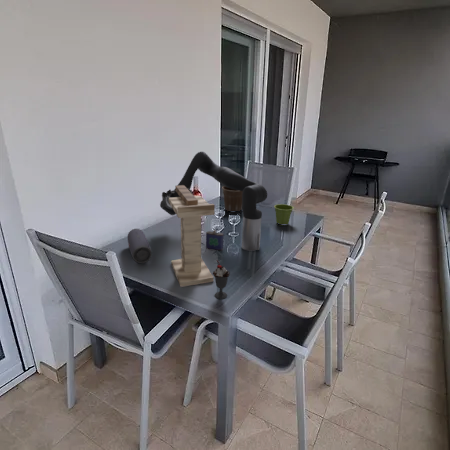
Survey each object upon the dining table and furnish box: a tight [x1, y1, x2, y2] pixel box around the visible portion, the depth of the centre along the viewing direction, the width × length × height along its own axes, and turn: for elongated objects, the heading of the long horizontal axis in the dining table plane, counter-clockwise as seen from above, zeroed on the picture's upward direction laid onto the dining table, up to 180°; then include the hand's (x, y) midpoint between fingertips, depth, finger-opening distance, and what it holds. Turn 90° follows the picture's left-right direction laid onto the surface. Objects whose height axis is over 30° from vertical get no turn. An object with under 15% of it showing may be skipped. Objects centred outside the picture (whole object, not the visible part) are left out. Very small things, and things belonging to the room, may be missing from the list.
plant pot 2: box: [273, 203, 295, 225], centre depth 196 cm, size 12×12×11 cm
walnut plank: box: [174, 184, 198, 206], centre depth 134 cm, size 24×4×2 cm, turn 20°
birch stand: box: [169, 195, 216, 288], centre depth 133 cm, size 20×14×34 cm
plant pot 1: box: [221, 185, 243, 212], centre depth 218 cm, size 16×16×16 cm
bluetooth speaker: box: [127, 228, 152, 264], centre depth 152 cm, size 23×9×10 cm, turn 22°
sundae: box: [212, 259, 231, 300], centre depth 121 cm, size 7×7×15 cm
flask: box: [205, 229, 225, 252], centre depth 160 cm, size 9×3×11 cm, turn 74°
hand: (179, 191), depth 146 cm, fingers open, 8 cm apart
